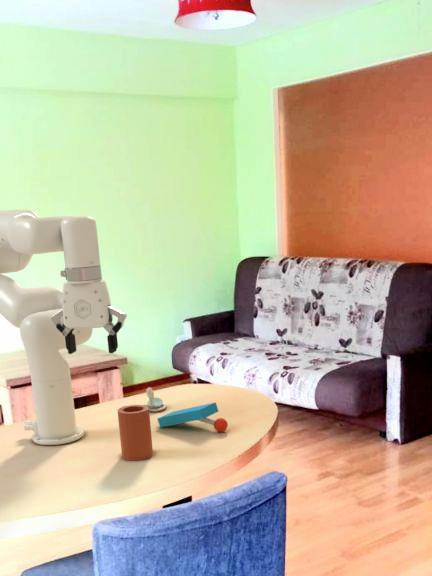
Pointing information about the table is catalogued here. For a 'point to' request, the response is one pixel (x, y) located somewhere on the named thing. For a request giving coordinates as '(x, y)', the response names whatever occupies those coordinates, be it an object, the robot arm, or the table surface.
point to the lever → (194, 417)
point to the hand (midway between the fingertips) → (92, 352)
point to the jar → (135, 432)
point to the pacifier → (154, 401)
